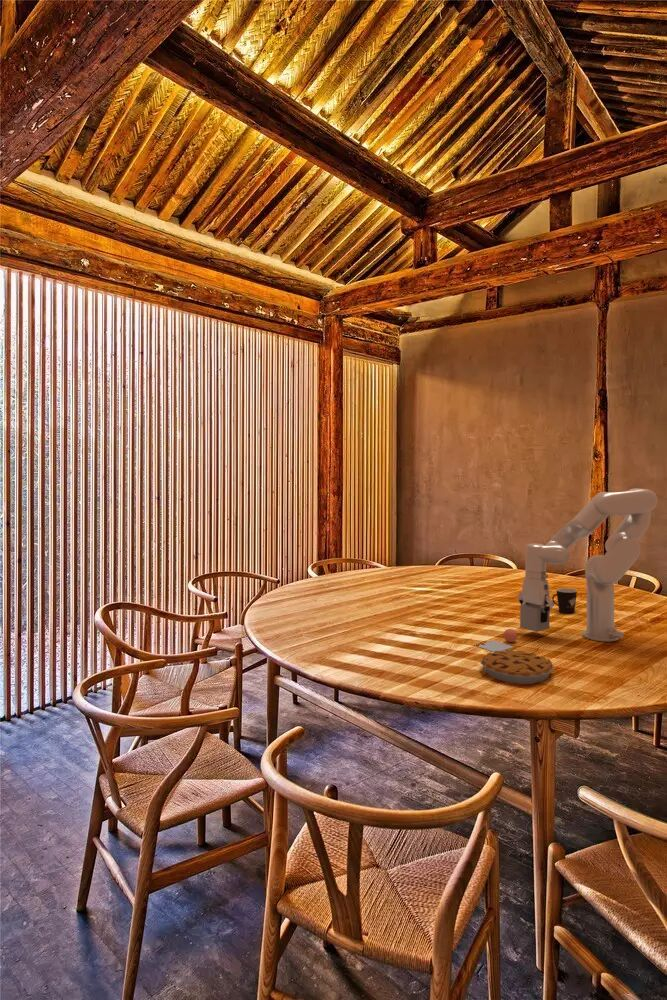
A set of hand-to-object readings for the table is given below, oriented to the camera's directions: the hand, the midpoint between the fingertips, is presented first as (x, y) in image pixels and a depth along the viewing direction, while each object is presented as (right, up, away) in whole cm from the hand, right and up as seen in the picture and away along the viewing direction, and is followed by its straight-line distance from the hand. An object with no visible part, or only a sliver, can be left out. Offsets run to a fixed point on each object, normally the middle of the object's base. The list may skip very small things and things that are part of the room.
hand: (534, 619), depth 212 cm
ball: (-12, -4, -8) cm, 15 cm away
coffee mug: (+25, -4, +33) cm, 42 cm away
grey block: (0, -3, 0) cm, 3 cm away
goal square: (-20, -7, -12) cm, 24 cm away
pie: (-20, -9, -38) cm, 44 cm away
